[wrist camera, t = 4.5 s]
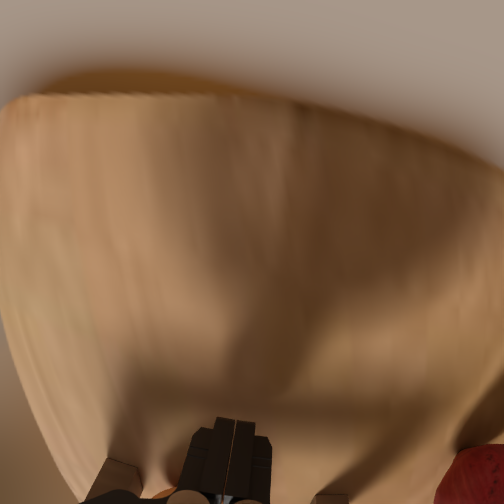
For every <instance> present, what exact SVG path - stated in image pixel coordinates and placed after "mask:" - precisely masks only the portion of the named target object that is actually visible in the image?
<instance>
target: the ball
mask: <svg viewBox="0 0 504 504" xmlns="http://www.w3.org/2000/svg"><path fill="white" fill-rule="evenodd" d="M176 488H177V487H175V488H170V489H167V490H164V491H162V492H160V493H158V494H157V495H155V496H154V497H153V498H151V499H157V498H163V497H166V496H168V495H170V494H171V493H173V492H174V491H175V489H176ZM221 504H223V500H222V503H221Z"/></svg>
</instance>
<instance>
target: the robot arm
mask: <svg viewBox="0 0 504 504" xmlns="http://www.w3.org/2000/svg"><path fill="white" fill-rule="evenodd" d="M234 425H235V420H233V419H227V418H221V417H217V418H216V421H215V426H214V429H209V428H204V427H201V428H200V429H199V430H198V431H197V432H196V433H195V434H194V435H193V436H192V440H191V443H190V447H189V450H188V453H187V456H186V459H185V463H184V466H183V469H182V473H181V476H180V479H179V483H178V486H177V488H176V489H175V491H174V492H173V493H171V494H170V495H168V496H166V497H163V498H157V499H143V498H139V497H138V496H137V495H135V494H134V493H132V492H130V491H127V490H123V489H116V490H112V491H109V492H107V493H104V494H102V495H99V496H97V497H94V498H92V499H89V500H87V501H84V502H82V503H79V504H221V503H222V497H223V492H224V486H225V480H226V475H227V469H228V463H229V457H230V452H231V445H232V439H233V432H234ZM254 434H255V422H247V421H240V420H237V423H236V429H235V435H234V441H233V447H232V453H231V458H230V464H229V470H228V476H227V482H226V488H225V493H224V500H223V504H270V486H271V465H272V446H271V444H270V442H269V440H268V437H263V436H255V435H254Z"/></svg>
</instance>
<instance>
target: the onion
mask: <svg viewBox="0 0 504 504" xmlns="http://www.w3.org/2000/svg"><path fill="white" fill-rule="evenodd" d="M434 504H504V444H486V445H481V446H477V447H473V448H466V449H464V450H462V451H460V452H459V453H458V454H457V455H456V457H455V458H454V460H453V463H452V465H451V466H450V468H449V469H448V471H447V472H446V474H445V476H444V477H443V479H442V481H441V483H440V484H439V486H438V488H437V490H436V494H435V498H434Z"/></svg>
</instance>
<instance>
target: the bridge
mask: <svg viewBox="0 0 504 504" xmlns="http://www.w3.org/2000/svg"><path fill="white" fill-rule="evenodd" d="M116 489H123V490H127V491H130V492H132V493H134V494H135V495H137V496H138V497H139V498H140V496H141V494H142V491H143V489H142V485H141V482H140V478H139V474H138V470H137V468H136V467H133V466H130V465H127V464H124V463H121V462H118V461H115V460H112V459H109V458H106V460H105V462H104V464H103V466H102V468H101V470H100V472H99V474H98V476H97V477H96V479H95V481H94V483H93V485H92V487H91V489H90V491H89V493H88V495H87V497H86V499H85V501H87V500H89V499H92V498H94V497H97V496H99V495H102V494H104V493H107V492H109V491H112V490H116ZM310 504H349V500H348V495H315V497H314V498H313V500H312V502H311V503H310Z"/></svg>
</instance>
